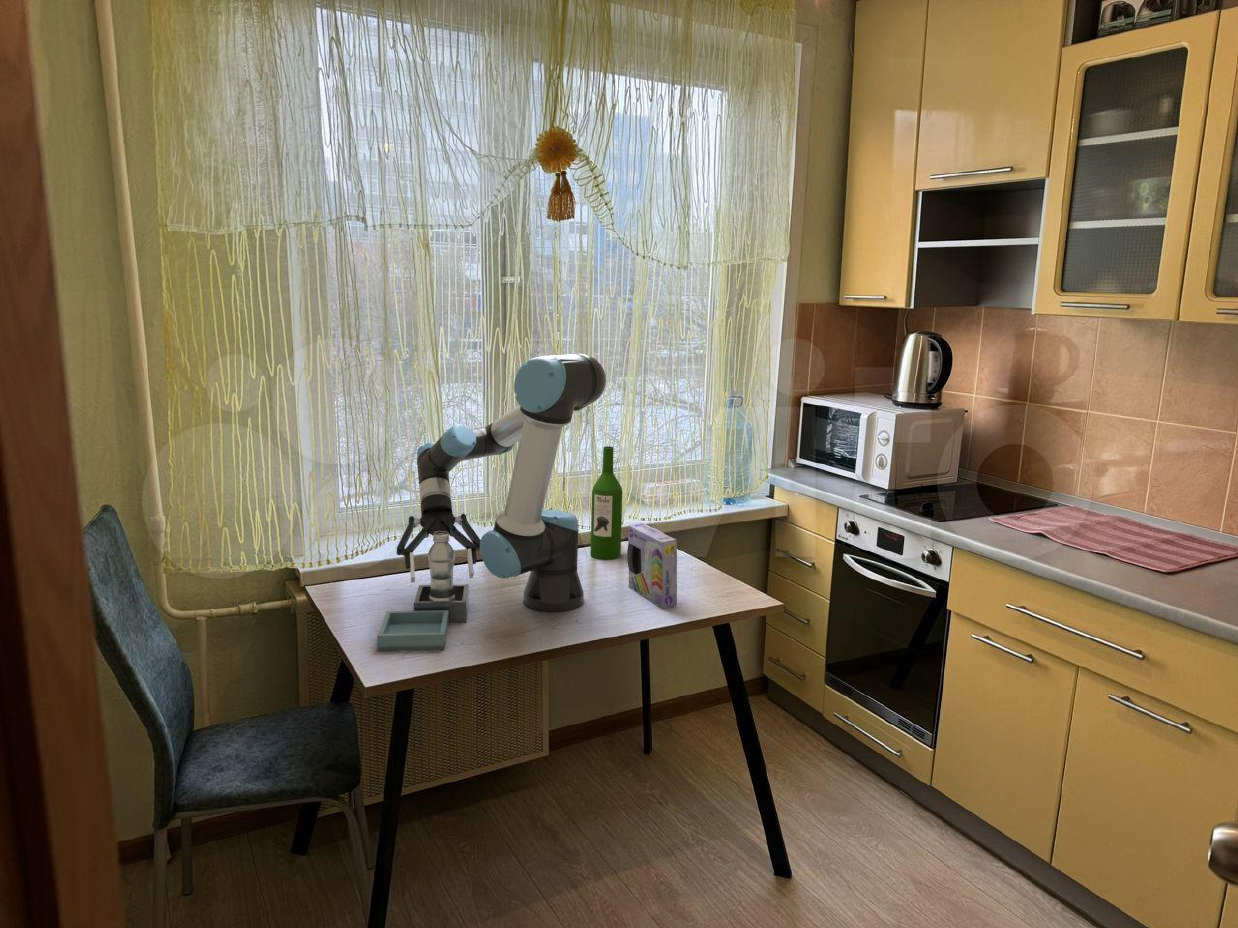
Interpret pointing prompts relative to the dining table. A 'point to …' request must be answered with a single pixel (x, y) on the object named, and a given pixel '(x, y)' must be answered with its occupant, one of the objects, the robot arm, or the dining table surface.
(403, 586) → the dining table surface
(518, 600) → the dining table surface
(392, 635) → the tray
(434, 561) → the metal bottle
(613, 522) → the wine bottle
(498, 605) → the dining table surface
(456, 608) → the holder sleeve
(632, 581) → the purple product box
